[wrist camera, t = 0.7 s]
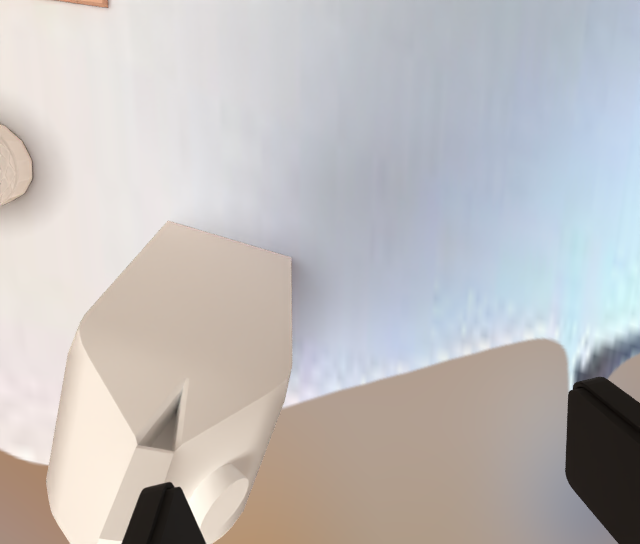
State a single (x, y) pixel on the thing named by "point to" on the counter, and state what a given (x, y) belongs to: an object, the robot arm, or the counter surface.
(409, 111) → the counter surface
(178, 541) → the robot arm
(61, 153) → the counter surface
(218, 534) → the milk
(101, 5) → the strips
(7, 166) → the white cup
